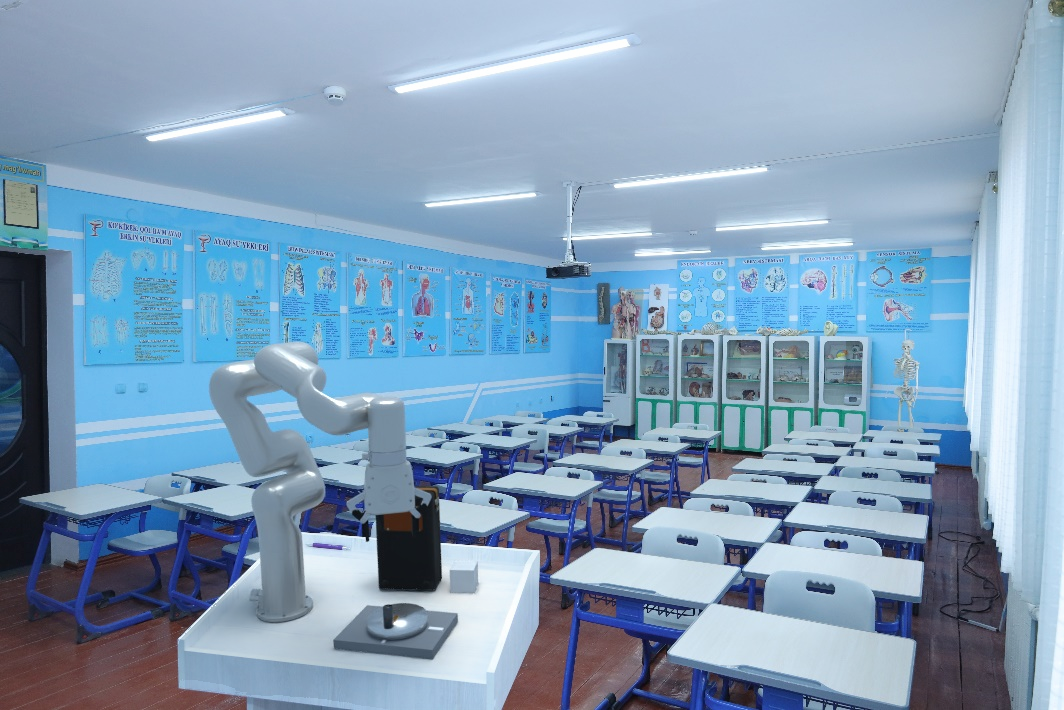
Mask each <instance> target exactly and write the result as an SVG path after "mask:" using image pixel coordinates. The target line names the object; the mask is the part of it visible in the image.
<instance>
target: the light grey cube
mask: <svg viewBox="0 0 1064 710" xmlns="http://www.w3.org/2000/svg"><path fill="white" fill-rule="evenodd" d="M478 563H479V562H478V560H469V559H468V560H466V559H465V560H460V559H459V560H457V559H455V560H453V562H452V564H451V566H450V569H449V589H450V591H449V593H450V594H475V593H476V590H477V588H478V585H479V564H478ZM477 584H478V585H477ZM476 587H477V588H476Z"/></svg>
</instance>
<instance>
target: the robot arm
mask: <svg viewBox="0 0 1064 710" xmlns="http://www.w3.org/2000/svg"><path fill="white" fill-rule="evenodd" d="M210 376H211V377H210V378H209V384H208V392H209V397H210V401H211V404H212V406H213V407H214V409H215V411H216V413H217V414H218V416H219V418H221V421H222V422H223V424H224V426H225V427H226V429H227V431H228V433H229V436H230V438H231V442H232V444H233V447H234V448H235V451H236V454H237V456H238V458H239V460H240V463H241V464H242V466H243V469H244V470H245V472H246V473H247V475H249V476H251V477H252V478H262V477H266V476H269V475H270V476H271V475H273V474H276V473H279V472H283V471H285V473H286V474H284V475H281V476H278V477H275V478H272V479H269V480H266V481H264V482H263V483H261V484H260V485H258V486H257V487H256V488H255V490H254V491H253V492H252V495H251V501H250V502H251V507H252V511H253V515H254V519H255V523H256V528H257V535H258V547H259V549H258V550H259V560H260V563H259V565H260V575H261V588H252V589H251V591H250V595H249V602H257V603H258V606H257V607H256V611H255V612H256V616H257V618H258V619H260V620H261V621H264V622H270V623H280V622H281V623H282V622H288V621H292V620H296V619H298V618H301V617H303V616H305V615H306V614H308V613H309V612H310V611H311V610H312V609H313V607H314V600H313V598H312V597H311V596H309V595H307V594H306V580H305V561H304V547H303V545H304V544H303V534H302V530H301V529H300V527H299V526H298V524H297V523H296V522H295V520H294V516H297V515H299V514H300V513H301V514H302V513H303V512H306V511H308V510H311V509H313V508H315V507H317V506H319V504H321V503H322V502H323V500H324V499H325V496H326V485H325V481H324V479H323V476H322V473H321V471H320V468H319V466H318V465H317V462H316V459H315V457H314V455H313V453H312V451H311V448H310V446H309V444H308V441H307V440H306V439H305V437H304V436H303V435H302V434H301V433H300V432H298V431H296V430H295V429H292V428H291V429H290V428H285V429H280V430H275V431H272V430H271V428H270V427H269V424H268V423H267V422H268V421H267V419H266V417H265V415H264V413H263V412H262V411H261V410H260V408H259V407H257V406H256V405H255V404H254V403H252V402H250V401H249V400H248V398H249V397H253V396H260V395H265V394H270V393H271V394H272V393H275V392H278V391H280V390H281V391H284V392H286V393H287V394H288V395H290V396H291V397H294V398H295V399H296V404H297V407H298V409H299V412H300V414H301V415H302V417H303V419H304V420H306V422H308V423H309V424H310V425H313V426H314V427H316V428H317V429H319V430H320V431H322V432H323V433H325V434H328V435H332V436H344V435H347V434H351V433H354V432H358V431H363V430H366V429H367V435H368V437H367V438H368V451H367V452H365V453H361V460H362V461H367V462H368V463H367V464H366V466H365V470H364V482H363V484H364V486H363V487H364V488H363V491H362V492H360V493H359V494H357V495H356V496H354V497H351V498H350V499H349V500H347V501H346V507H347V508H348V509H349V512H350V513H351V516H353V517H354V518H355V519H357V521H359V523H360V524H361V537H362V538H365V542H366V543H368V542H370V523H369V518H370V517H371V516H375V515H381V514H392V513H402V512H408V511H410V512H411V513H412V515H411V524H412V535H413V536H414V537H416V531H419V517H420V515H421V514H422V513H423V512H424V511H425V510H426V509H427V506H428V504H429V502H430V500H431V498H432V496H431V494H430V493H427V492H425V491H422V490H420V489H417V488H415V487H414V486H415V484H414V482H415V481H414V473H413V469H412V465H411V462H410V461H409V460H407V436H406V433H407V432H406V416H405V415H406V411H405V410H406V409H405V402H404V401H403V399H401V398H400V397H397V396H382V395H379V394H377V393H373V392H361V393H356V394H351V395H347V396H342V397H337V398H332V397H331V396H328V395H327V394H325V393H323V391H324V389H325V387H326V386H327V385H326V384H327V373H326V372H325V370H324V368H322V367H321V366H320V365H319V357H318V353H317V351H316V350H315V349H314V347H313V346H312V345H311V344H309V343H307V342H304V341H299V340H297V341H290V342H279V343H274V344H273V343H272V344H269V345H268V344H267V345H266V346H263V347H262V348H261V349H260V350H258V352H256V354H255V356H254V358H253V359H247V360H240V361H234V362H229V363H226V364H224V365H223V364H222V365H221V366H219V367H218V368H216V369H215V370H214V371H213V372H212V374H211V375H210ZM415 495H416V496H418V497H421V498H423V501H422V503H421V504H420V505H419V506H418V507H416V506H415ZM362 501H364V509H363V511H360V510H359V509H358V508H357V507H356V505H358V504H359V503H361V502H362Z"/></svg>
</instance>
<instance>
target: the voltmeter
mask: <svg viewBox="0 0 1064 710" xmlns="http://www.w3.org/2000/svg"><path fill="white" fill-rule="evenodd" d="M414 487H415V488H417V489H420V490H422V491H425V492H427V493H430V494H431V496H432V498H431V500H430V502H429V504H428V506H427V509H426V510H425V511H424V512H423V513H422V514H421V515H420V517H419V531H416V537H414V536H413V535H412V524H411V515H412V513H411V512H410V511H408V512H402V513H392V514H381V515H374V516H375V537H376V552H377V553H376V556H377V575H378V576H377V579H378V588H379V589H380V590H404V591H405V590H406V591H407V590H408V591H409V590H410V591H411V590H413V591H434V590H436V588H437V586H438V585H439V581H440V582H441V581H442V580H443V569H442V568H443V566H442V563H443V562H442V543H441V542H442V540H441V539H442V538H441V517H440V516H441V513H440V510H441V509H440V488H439V487H438V486H436V485H434V486H433V485H432V486H430V485H427V486H425V485H423V486H422V485H420V486H419V485H414ZM422 501H423V498H421V497H418V496H416V495H415V506H416V507H418V506H419V505H420V504H421V503H422Z"/></svg>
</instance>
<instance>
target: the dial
mask: <svg viewBox="0 0 1064 710" xmlns="http://www.w3.org/2000/svg"><path fill="white" fill-rule="evenodd" d="M382 606H383V607H380V608H378V609H376V610H374V611H373V612H371V613H370V614H369V616H368V617H367V631H368V633H369V634H370V635H371V636H373V637H375V638H378V639H383V640H398V639H404V638H408V637H411V636H414V635H416V634H418V633H420V632H421V631H423V630H424V629H425V628H426V626H427V624H428V615H427V611H428V610H427V611H426V608H425V607H423V606H422V605H419V604H416V603H409V602H398V603H397V602H396V603H392V604H390V603H389V604H384V605H382Z"/></svg>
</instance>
